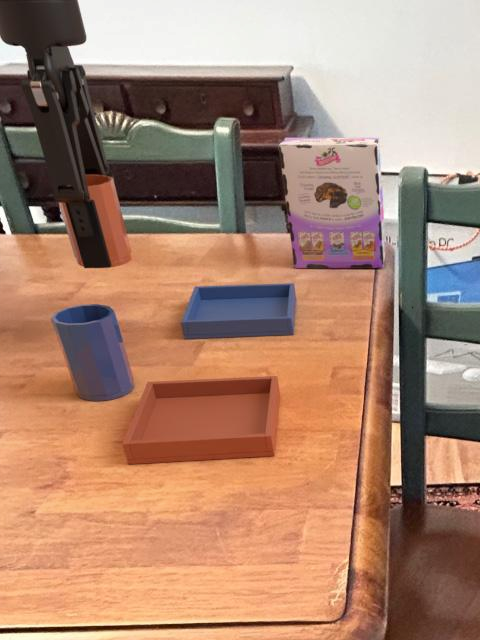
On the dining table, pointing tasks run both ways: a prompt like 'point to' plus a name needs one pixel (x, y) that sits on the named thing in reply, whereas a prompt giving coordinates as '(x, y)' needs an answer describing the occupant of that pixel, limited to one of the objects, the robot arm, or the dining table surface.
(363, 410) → the dining table surface
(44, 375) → the dining table surface
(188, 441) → the terracotta tray
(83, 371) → the blue cup
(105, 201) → the terracotta cup
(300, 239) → the candy box
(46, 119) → the robot arm
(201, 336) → the blue tray
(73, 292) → the dining table surface
